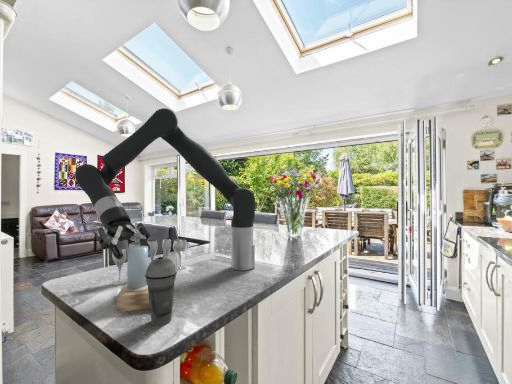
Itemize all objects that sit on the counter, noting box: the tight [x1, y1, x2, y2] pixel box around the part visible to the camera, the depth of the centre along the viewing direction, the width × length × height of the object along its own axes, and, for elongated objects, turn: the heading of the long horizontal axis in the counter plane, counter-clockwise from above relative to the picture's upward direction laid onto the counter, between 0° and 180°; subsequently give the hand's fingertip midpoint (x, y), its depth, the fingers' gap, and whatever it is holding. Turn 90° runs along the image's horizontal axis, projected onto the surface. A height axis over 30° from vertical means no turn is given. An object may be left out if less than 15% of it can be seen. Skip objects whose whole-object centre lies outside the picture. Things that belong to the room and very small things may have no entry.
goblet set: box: [111, 238, 188, 286], centre depth 97 cm, size 28×6×13 cm, turn 133°
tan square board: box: [115, 282, 150, 313], centre depth 75 cm, size 12×14×4 cm
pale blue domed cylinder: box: [126, 246, 149, 289], centre depth 74 cm, size 5×5×11 cm
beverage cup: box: [145, 238, 178, 327], centre depth 62 cm, size 7×7×20 cm
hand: (135, 254), depth 74 cm, fingers open, 8 cm apart
